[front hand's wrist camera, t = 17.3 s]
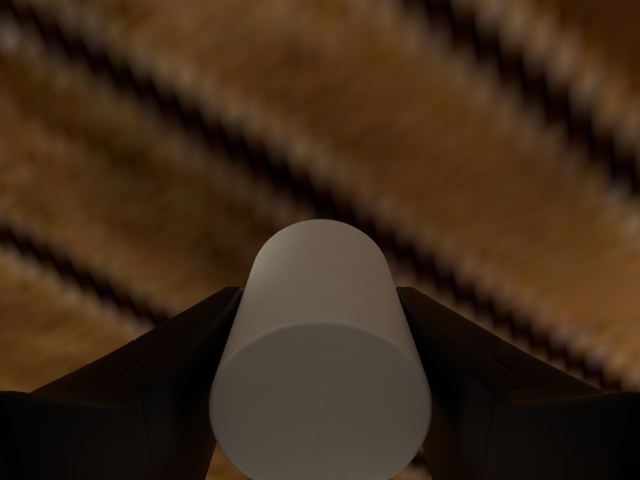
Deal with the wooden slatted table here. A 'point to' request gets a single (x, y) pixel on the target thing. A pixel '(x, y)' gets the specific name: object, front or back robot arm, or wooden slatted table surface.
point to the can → (320, 364)
